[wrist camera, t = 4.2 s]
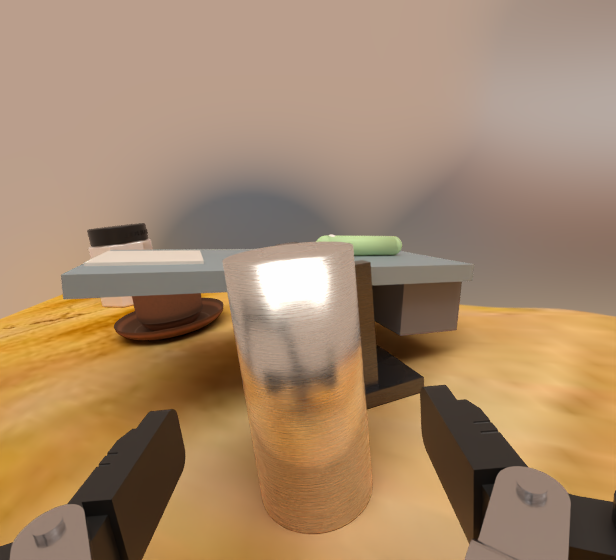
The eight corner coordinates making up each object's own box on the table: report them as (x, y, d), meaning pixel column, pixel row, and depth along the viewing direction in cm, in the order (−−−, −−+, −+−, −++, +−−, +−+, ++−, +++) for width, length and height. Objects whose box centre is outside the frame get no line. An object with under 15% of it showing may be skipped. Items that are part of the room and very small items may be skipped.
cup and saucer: (127, 323, 45) (116, 277, 44) (221, 305, 49) (214, 262, 47) (106, 360, 34) (91, 300, 33) (230, 334, 38) (221, 278, 36)
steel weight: (239, 488, 17) (198, 261, 14) (316, 431, 20) (293, 241, 18) (317, 560, 13) (279, 269, 10) (394, 475, 16) (379, 242, 14)
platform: (381, 297, 37) (386, 231, 36) (466, 334, 26) (476, 240, 25) (115, 312, 29) (109, 228, 28) (71, 376, 18) (57, 239, 16)
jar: (151, 303, 53) (134, 224, 51) (95, 311, 52) (75, 231, 50) (166, 289, 62) (152, 221, 59) (118, 296, 61) (101, 227, 58)
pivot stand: (330, 320, 38) (322, 237, 36) (424, 391, 23) (419, 255, 21) (257, 336, 35) (244, 248, 33) (309, 427, 20) (291, 278, 18)
